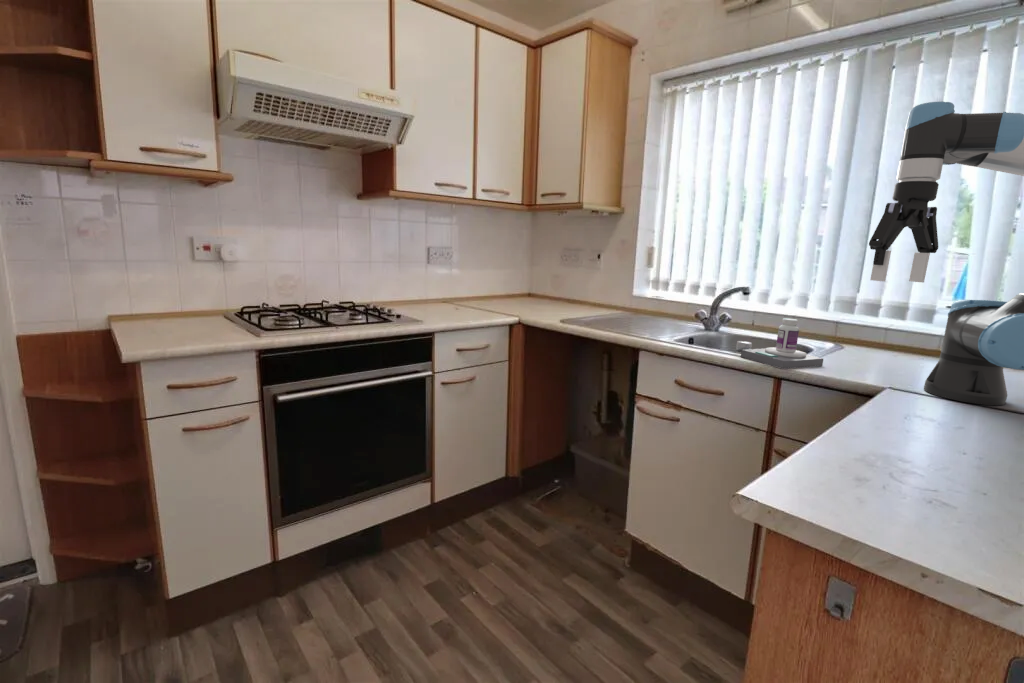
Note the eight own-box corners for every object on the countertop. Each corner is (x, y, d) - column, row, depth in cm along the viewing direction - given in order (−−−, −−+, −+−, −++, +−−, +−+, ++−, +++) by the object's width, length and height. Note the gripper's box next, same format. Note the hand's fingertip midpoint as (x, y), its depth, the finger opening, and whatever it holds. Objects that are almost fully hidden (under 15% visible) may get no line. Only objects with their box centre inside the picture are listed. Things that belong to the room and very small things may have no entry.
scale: (778, 354, 165) (779, 345, 164) (822, 366, 151) (823, 356, 151) (740, 356, 159) (741, 347, 158) (782, 368, 145) (784, 358, 145)
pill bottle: (796, 351, 156) (801, 319, 154) (794, 354, 151) (800, 321, 150) (776, 348, 159) (781, 317, 157) (774, 351, 154) (779, 318, 152)
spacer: (743, 349, 170) (744, 340, 170) (753, 352, 167) (755, 343, 166) (732, 350, 169) (734, 341, 168) (743, 353, 165) (744, 344, 164)
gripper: (932, 188, 120) (913, 280, 124) (861, 177, 110) (843, 278, 114) (971, 185, 113) (950, 283, 117) (898, 174, 103) (878, 282, 107)
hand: (897, 281), depth 115 cm, fingers open, 13 cm apart
